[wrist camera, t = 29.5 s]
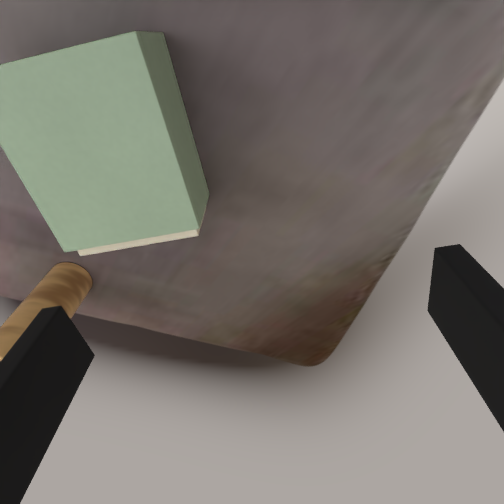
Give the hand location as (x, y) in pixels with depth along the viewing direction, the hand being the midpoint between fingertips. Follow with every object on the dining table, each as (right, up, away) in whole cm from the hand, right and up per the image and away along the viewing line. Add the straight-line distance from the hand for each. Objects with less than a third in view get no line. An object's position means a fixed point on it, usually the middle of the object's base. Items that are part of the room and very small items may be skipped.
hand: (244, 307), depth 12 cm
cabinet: (-13, +14, +23) cm, 30 cm away
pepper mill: (-24, -2, +33) cm, 41 cm away
